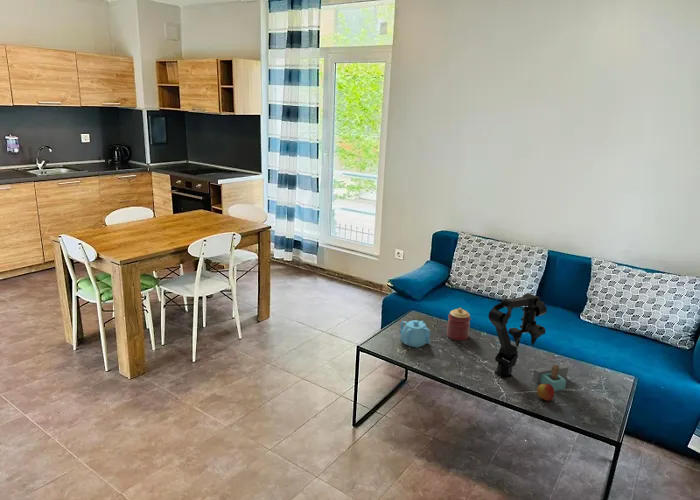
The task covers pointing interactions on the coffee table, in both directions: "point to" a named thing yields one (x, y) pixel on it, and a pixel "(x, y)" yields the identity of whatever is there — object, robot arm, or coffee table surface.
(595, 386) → the coffee table surface
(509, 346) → the robot arm
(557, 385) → the holed block
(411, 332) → the decorative pot
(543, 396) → the apple
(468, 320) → the canister
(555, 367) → the dowel
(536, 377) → the wall
